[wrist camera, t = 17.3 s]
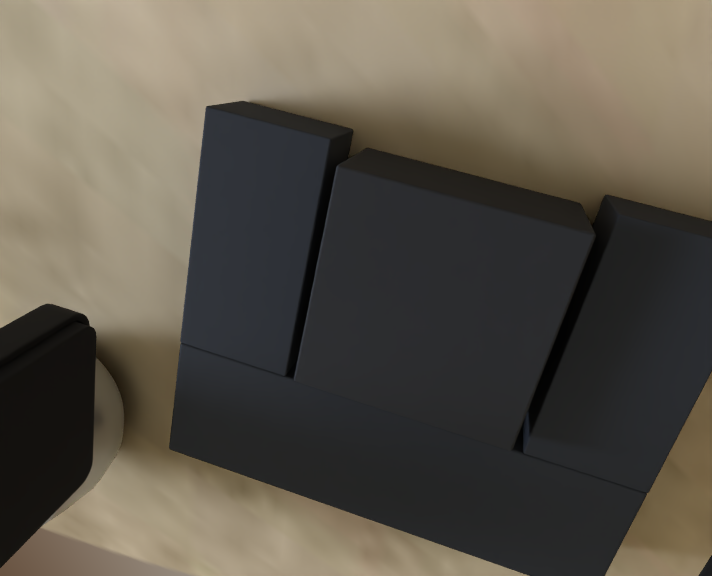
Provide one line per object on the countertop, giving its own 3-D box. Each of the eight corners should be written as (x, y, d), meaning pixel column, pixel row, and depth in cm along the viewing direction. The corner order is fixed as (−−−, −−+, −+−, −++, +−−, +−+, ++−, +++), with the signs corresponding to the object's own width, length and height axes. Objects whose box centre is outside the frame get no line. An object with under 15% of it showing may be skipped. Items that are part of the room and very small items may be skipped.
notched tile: (242, 100, 19) (205, 105, 17) (738, 228, 17) (774, 254, 15) (201, 412, 24) (167, 449, 21) (585, 542, 21) (593, 599, 19)
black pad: (366, 146, 18) (335, 164, 15) (581, 203, 18) (597, 234, 14) (325, 333, 21) (292, 382, 18) (511, 391, 20) (511, 452, 17)
